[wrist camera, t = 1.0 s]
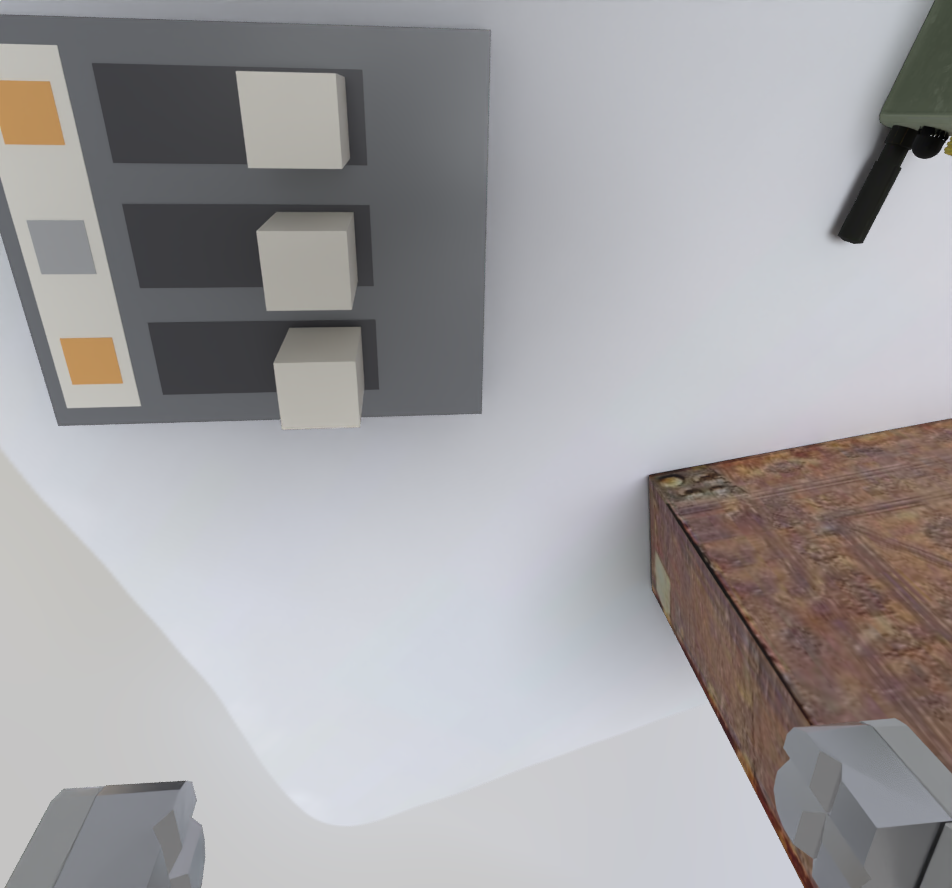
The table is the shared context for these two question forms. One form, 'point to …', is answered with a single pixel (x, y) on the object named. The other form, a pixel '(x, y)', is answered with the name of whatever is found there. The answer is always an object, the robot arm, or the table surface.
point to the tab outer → (320, 378)
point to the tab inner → (294, 119)
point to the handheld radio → (910, 117)
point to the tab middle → (308, 261)
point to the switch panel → (236, 212)
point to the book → (813, 591)
